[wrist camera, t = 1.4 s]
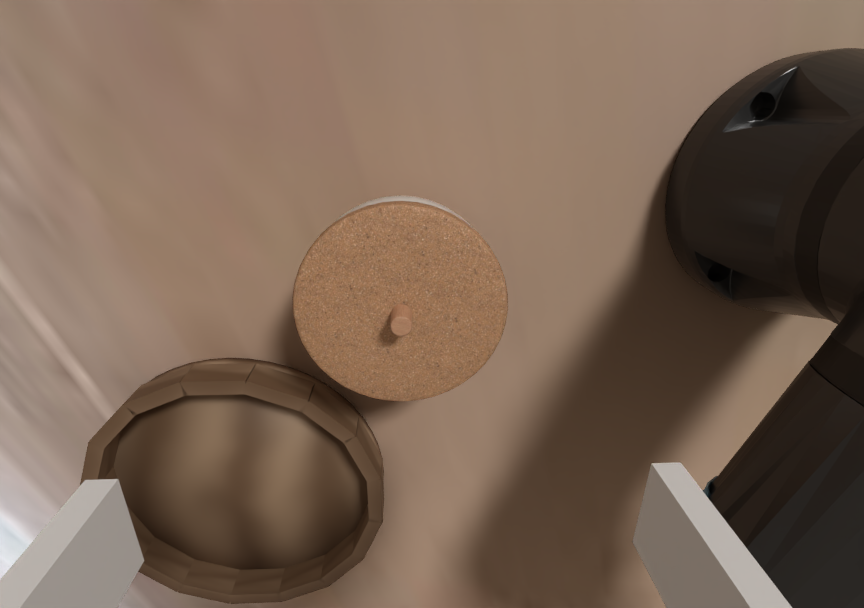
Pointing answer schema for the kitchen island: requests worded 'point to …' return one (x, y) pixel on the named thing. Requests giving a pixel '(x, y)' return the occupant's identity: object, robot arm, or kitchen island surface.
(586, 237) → the kitchen island surface
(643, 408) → the kitchen island surface
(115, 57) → the kitchen island surface
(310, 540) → the walnut tray
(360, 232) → the lidded jar
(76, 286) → the kitchen island surface
